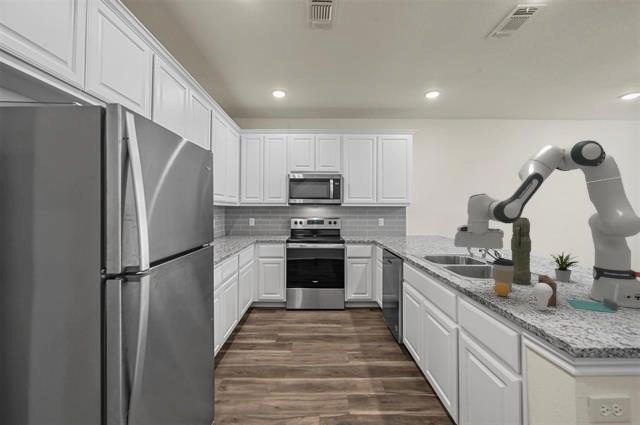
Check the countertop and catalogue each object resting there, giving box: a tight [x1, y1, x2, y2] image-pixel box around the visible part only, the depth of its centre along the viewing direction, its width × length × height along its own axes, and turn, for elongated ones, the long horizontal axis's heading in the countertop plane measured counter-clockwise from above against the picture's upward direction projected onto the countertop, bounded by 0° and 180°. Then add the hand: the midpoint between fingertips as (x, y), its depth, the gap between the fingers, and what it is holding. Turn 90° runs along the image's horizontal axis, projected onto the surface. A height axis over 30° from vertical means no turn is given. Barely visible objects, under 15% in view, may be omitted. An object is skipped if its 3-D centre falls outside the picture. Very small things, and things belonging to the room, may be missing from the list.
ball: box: [493, 283, 511, 297], centre depth 131 cm, size 6×6×6 cm
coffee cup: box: [492, 257, 514, 292], centre depth 142 cm, size 9×9×15 cm
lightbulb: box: [532, 283, 553, 312], centre depth 113 cm, size 6×6×11 cm
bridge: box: [537, 274, 558, 308], centre depth 124 cm, size 3×15×10 cm, turn 154°
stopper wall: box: [603, 298, 618, 312], centre depth 115 cm, size 2×6×3 cm, turn 154°
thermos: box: [510, 216, 532, 286], centre depth 152 cm, size 9×12×35 cm
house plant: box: [549, 251, 579, 283], centre depth 156 cm, size 14×14×16 cm
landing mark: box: [565, 298, 617, 314], centre depth 118 cm, size 12×12×1 cm
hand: (477, 257), depth 135 cm, fingers open, 4 cm apart
